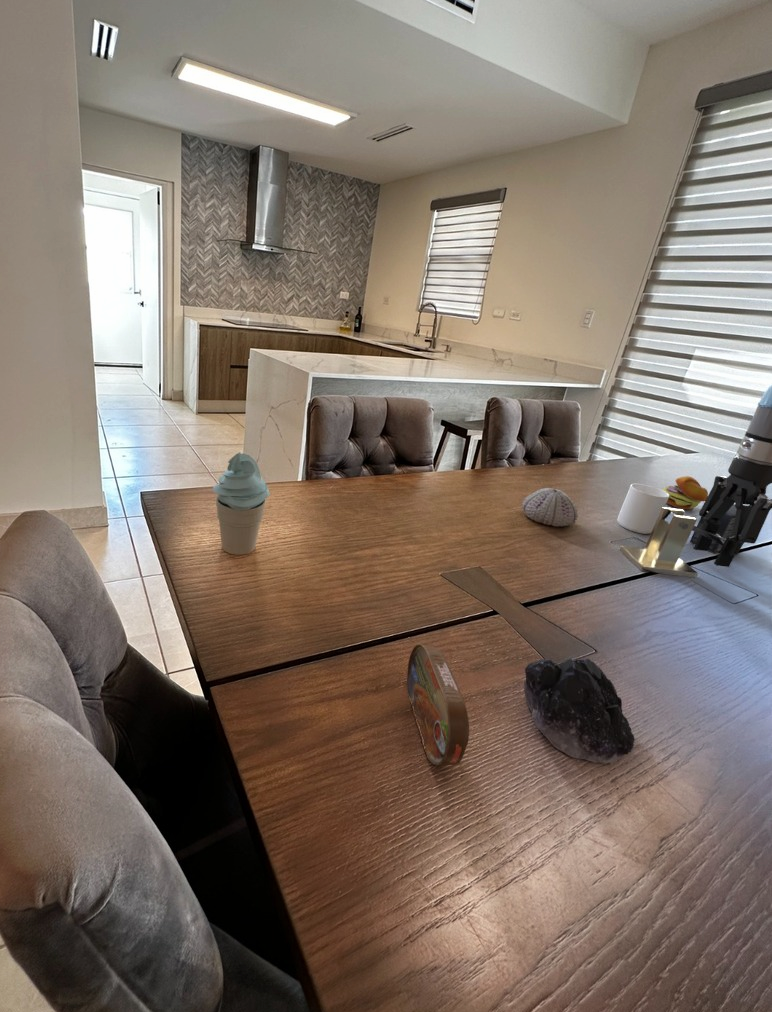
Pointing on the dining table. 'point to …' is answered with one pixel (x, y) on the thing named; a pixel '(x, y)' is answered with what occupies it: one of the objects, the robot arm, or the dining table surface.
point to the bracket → (665, 546)
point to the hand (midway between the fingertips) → (710, 557)
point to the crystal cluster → (578, 709)
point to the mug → (642, 508)
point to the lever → (700, 531)
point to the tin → (437, 705)
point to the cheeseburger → (686, 493)
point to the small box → (719, 529)
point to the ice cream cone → (240, 504)
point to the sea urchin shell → (550, 507)
